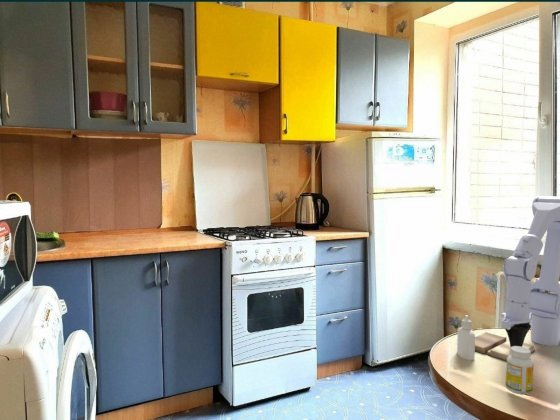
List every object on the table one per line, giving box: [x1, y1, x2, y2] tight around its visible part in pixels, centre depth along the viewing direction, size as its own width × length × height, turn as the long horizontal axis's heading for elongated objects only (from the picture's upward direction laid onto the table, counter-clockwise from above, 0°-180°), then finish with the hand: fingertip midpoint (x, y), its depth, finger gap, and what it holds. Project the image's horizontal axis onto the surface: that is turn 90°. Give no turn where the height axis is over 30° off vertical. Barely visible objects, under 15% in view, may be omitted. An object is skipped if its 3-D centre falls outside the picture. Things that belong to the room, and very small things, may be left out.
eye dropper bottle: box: [456, 314, 476, 361], centre depth 114 cm, size 4×6×12 cm
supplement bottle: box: [505, 346, 534, 396], centre depth 97 cm, size 5×5×10 cm
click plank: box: [487, 340, 535, 362], centre depth 117 cm, size 13×7×2 cm, turn 128°
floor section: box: [475, 331, 536, 362], centre depth 119 cm, size 14×14×2 cm
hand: (516, 349), depth 115 cm, fingers closed, pressing on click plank
